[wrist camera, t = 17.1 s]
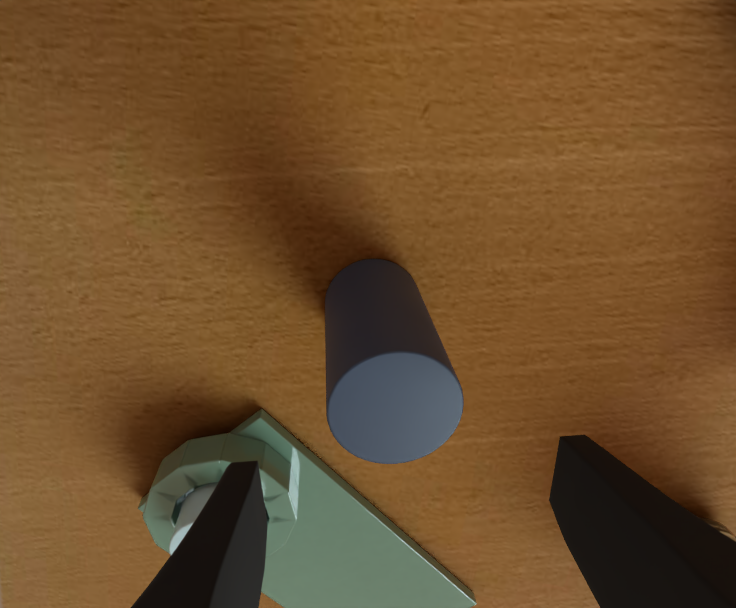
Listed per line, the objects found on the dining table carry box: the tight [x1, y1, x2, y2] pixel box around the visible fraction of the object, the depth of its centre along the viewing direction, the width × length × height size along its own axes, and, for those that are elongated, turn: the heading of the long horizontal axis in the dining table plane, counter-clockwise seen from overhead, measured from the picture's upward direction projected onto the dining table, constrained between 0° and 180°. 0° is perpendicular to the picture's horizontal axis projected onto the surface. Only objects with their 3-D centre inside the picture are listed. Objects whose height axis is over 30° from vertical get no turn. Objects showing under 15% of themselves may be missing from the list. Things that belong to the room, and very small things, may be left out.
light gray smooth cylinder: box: [169, 482, 218, 556], centre depth 22 cm, size 4×4×2 cm
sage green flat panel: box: [138, 409, 477, 608], centre depth 26 cm, size 19×8×2 cm, turn 38°
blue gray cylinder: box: [325, 259, 463, 464], centre depth 18 cm, size 4×4×8 cm
